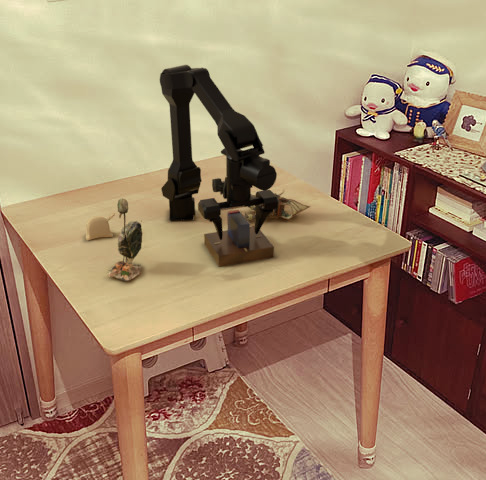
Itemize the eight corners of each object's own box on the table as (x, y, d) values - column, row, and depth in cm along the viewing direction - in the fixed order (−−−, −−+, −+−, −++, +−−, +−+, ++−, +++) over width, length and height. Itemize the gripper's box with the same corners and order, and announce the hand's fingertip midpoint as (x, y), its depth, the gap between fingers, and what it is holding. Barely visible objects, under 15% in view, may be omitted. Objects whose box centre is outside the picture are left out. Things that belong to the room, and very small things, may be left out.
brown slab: (219, 267, 171) (218, 255, 170) (204, 244, 181) (204, 233, 179) (273, 257, 175) (274, 246, 173) (256, 235, 184) (256, 224, 183)
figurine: (252, 180, 201) (313, 185, 198) (251, 201, 204) (311, 205, 201) (241, 206, 184) (307, 211, 181) (240, 228, 187) (305, 234, 184)
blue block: (249, 246, 173) (249, 222, 170) (237, 248, 173) (238, 224, 169) (238, 232, 180) (238, 209, 176) (227, 233, 179) (227, 211, 176)
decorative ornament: (84, 234, 187) (81, 215, 184) (116, 229, 189) (114, 211, 186) (86, 241, 184) (84, 222, 181) (118, 236, 186) (116, 217, 183)
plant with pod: (156, 266, 173) (150, 188, 161) (124, 286, 165) (117, 206, 154) (130, 256, 177) (123, 180, 165) (98, 276, 169) (89, 198, 158)
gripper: (263, 159, 175) (262, 217, 184) (190, 169, 171) (192, 228, 180) (280, 175, 167) (278, 235, 175) (204, 186, 162) (205, 247, 171)
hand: (238, 236), depth 176 cm, fingers open, 9 cm apart
